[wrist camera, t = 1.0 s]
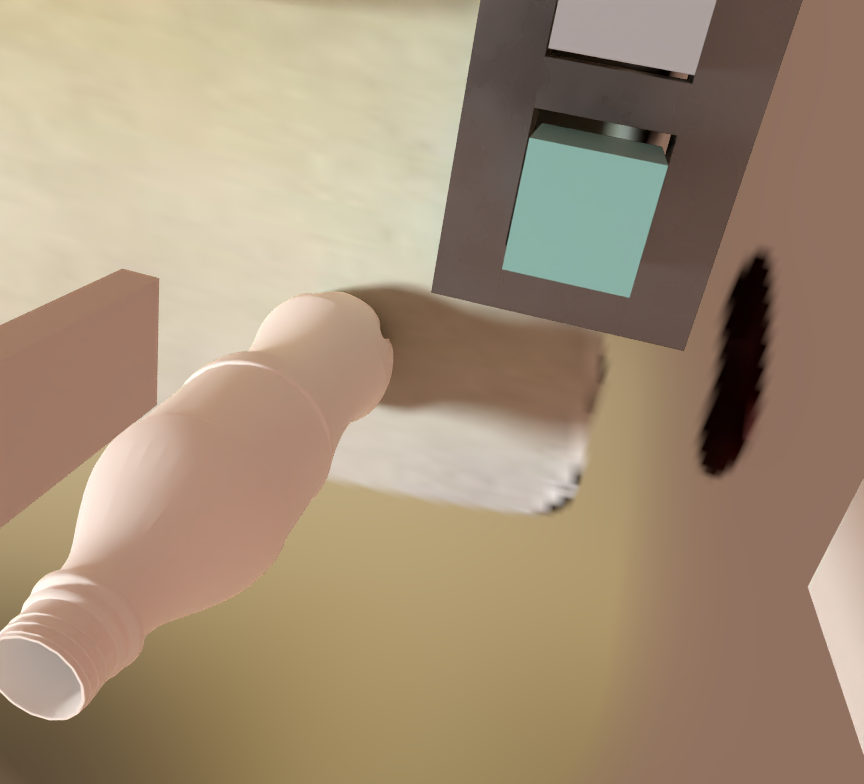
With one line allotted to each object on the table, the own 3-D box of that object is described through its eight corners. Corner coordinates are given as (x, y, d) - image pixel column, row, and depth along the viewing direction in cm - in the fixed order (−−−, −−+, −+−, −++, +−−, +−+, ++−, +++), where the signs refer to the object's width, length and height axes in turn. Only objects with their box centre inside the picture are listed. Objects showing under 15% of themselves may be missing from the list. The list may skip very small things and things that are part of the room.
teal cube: (542, 122, 32) (529, 137, 28) (661, 146, 32) (668, 165, 27) (517, 238, 35) (501, 269, 30) (628, 262, 34) (629, 297, 30)
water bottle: (426, 376, 42) (209, 757, 20) (318, 416, 45) (21, 792, 23) (366, 257, 40) (50, 536, 18) (256, 306, 43) (-137, 603, 21)
